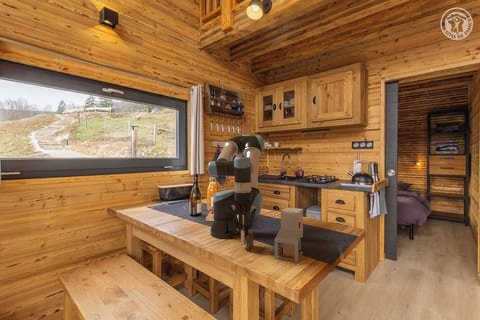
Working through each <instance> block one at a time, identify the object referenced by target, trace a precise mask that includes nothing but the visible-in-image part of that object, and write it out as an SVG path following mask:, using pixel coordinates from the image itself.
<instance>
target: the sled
mask: <svg viewBox="0 0 480 320" xmlns="http://www.w3.org/2000/svg"><path fill="white" fill-rule="evenodd" d="M246 252H248V253H254V254H260V255H269V256H275V247H268V246H261V245H254V230H251V231H250V232H248V235H247V236H246ZM303 254H304V251H301V250H298V260H302V259H303ZM278 257H283V258H288V259H289V258H290V259H295V257H290V256H283V247H282V248H278Z"/></svg>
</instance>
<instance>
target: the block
mask: <svg viewBox="0 0 480 320" xmlns="http://www.w3.org/2000/svg"><path fill="white" fill-rule="evenodd" d="M283 256H290V257H295V244H288V243H283Z"/></svg>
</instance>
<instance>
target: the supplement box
mask: <svg viewBox="0 0 480 320" xmlns="http://www.w3.org/2000/svg"><path fill="white" fill-rule="evenodd" d="M303 211H304V208H296V207H289V206H288V207H285V208H283V209H281V210H280V229H286V230H296V231H301V239H302V238H304V226H303V225H304V222H303V221H304V216H303V215H304V212H303Z"/></svg>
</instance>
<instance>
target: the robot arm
mask: <svg viewBox="0 0 480 320" xmlns="http://www.w3.org/2000/svg"><path fill="white" fill-rule="evenodd" d="M263 142H264V141H263V137H262V136H261V135H256V134H254V135H252V134H251V135H235V136H233V137H231V138H229V139H227V140H226V141H225V142H224V143H223V146H222V150H221V152H220V153H219V155H218V157H217V159H216V160H213V161H212V160H211V161H209V162H208V164H207V172H208V175H209V176H210V177H217V178H218V177H234V190H233V189H227V190H221V191H217V192H215V193H214V194H213V196H212V197H213V199H212V208H213V209H212V211H213V220H212V224H211V227H210V236H211V237H212V238H217V239H229V238H234V237H236V236H237V235H238V236H239V238H240V245H241V246H246V245H247V242H246V236H247V235H248V234H249V230H251V229H252V228H253V225H254V219H255V217H256V216H259V215H260V214H261V212H262V208H263V198H264V197H263V195H264V194H263V193H261V190H260V189H259V188H258V186H259V184H258V182H259V181H258V180H259V158H260V157H261V155H262V154H263V153H264V144H263ZM237 154H242V155H243V157H242V156H238V157H236V156H235V155H237ZM234 156H235V157H234ZM249 217H250V218H249Z"/></svg>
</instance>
